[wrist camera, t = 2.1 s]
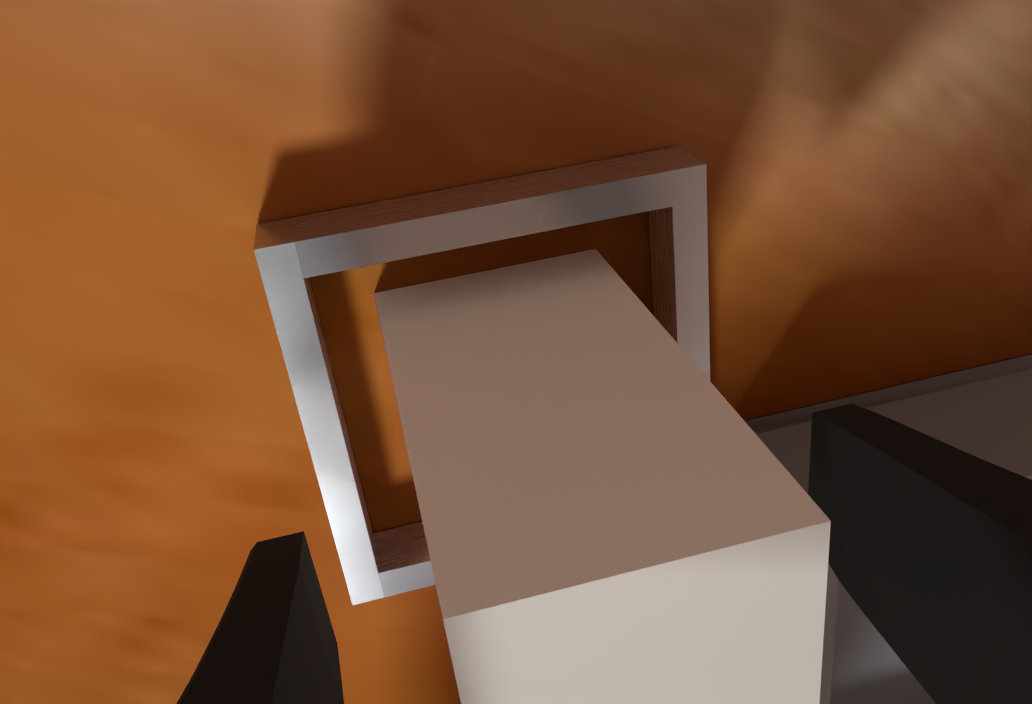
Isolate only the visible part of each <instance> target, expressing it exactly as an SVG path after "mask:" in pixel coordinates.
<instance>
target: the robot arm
mask: <svg viewBox="0 0 1032 704" xmlns="http://www.w3.org/2000/svg"><path fill="white" fill-rule="evenodd" d="M808 495H809V496H810V497H811V499H812V500H813V501H814V502H815V503H816V504H817V506H818V507H819V508H820V509H821V510H822V511H823V512H824V514H825V515H826V516H827V517H828V518H829V519H830V521H831V526H830V542H829V558H828V563H829V565H830V567H831V568H832V570H833V572H834V573H835V575H836V576H837V578H838V580H839V581H840V583H841V584H842V586H843V587H844V588H845V590H846V591H847V592H848V594H849V595H850V596H851V598H852V599H853V600H854V601H855V603H856V604H857V605H858V607H859V608H860V609H861V610H862V612H863V613H864V614H865V615H866V617H867V618H868V619H869V621H870V622H871V623H872V624H873V626H874V627H875V628H876V630H877V631H878V632H879V633H880V635H881V636H882V637H883V638H884V640H885V641H886V642H887V643H888V645H889V646H890V647H891V648H892V650H893V651H894V652H895V653H896V655H897V656H898V657H899V658H900V660H901V661H902V662H903V663H904V665H905V666H906V667H907V668H908V670H909V671H910V672H911V673H912V675H913V676H914V677H915V678H916V680H917V681H918V682H919V683H920V685H921V686H922V687H923V688H924V690H925V691H926V692H927V693H928V695H929V696H930V697H931V698H932V700H933V701H934V702H935V703H936V704H1032V480H1031V479H1029V478H1026V477H1024V476H1022V475H1019V474H1017V473H1014V472H1012V471H1009V470H1007V469H1004V468H1002V467H1000V466H997V465H995V464H992V463H990V462H988V461H985V460H983V459H981V458H978V457H976V456H974V455H971V454H969V453H967V452H965V451H962V450H960V449H958V448H955V447H953V446H951V445H949V444H946V443H944V442H942V441H940V440H937V439H935V438H933V437H931V436H928V435H926V434H924V433H922V432H919V431H917V430H915V429H913V428H910V427H908V426H906V425H904V424H901V423H899V422H897V421H894V420H892V419H890V418H887V417H885V416H883V415H880V414H878V413H876V412H873V411H871V410H868V409H865V408H863V407H860V406H857V405H855V404H852V403H851V404H847V405H843V406H839V407H834V408H830V409H826V410H821V411H817V412H813V413H812V425H811V445H810V465H809V485H808ZM177 704H344V700H343V690H342V681H341V672H340V664H339V655H338V647H337V641H336V638H335V635H334V631H333V628H332V625H331V621H330V618H329V615H328V611H327V608H326V605H325V601H324V598H323V595H322V591H321V588H320V585H319V581H318V578H317V574H316V571H315V568H314V564H313V561H312V558H311V554H310V551H309V548H308V544H307V541H306V538H305V534H304V531H303V532H299V533H295V534H291V535H286V536H282V537H278V538H274V539H269V540H265V541H261V542H257V543H256V544H255V546H254V547H253V548H252V550H251V551H250V553H249V556H248V559H247V561H246V564H245V566H244V568H243V571H242V573H241V576H240V578H239V580H238V583H237V585H236V587H235V590H234V592H233V594H232V596H231V599H230V601H229V603H228V605H227V607H226V609H225V612H224V614H223V616H222V618H221V620H220V622H219V624H218V626H217V628H216V630H215V632H214V634H213V636H212V638H211V640H210V642H209V644H208V646H207V648H206V650H205V652H204V654H203V656H202V658H201V660H200V662H199V664H198V666H197V668H196V670H195V672H194V674H193V676H192V677H191V679H190V681H189V683H188V685H187V686H186V688H185V690H184V692H183V693H182V695H181V697H180V698H179V700H178V702H177Z"/></svg>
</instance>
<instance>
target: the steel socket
mask: <svg viewBox="0 0 1032 704" xmlns="http://www.w3.org/2000/svg"><path fill="white" fill-rule="evenodd" d="M647 211H648V217H649V236H650V256H651V276H652V295H653V315H654V317H655V318H656V319H657V320H658V322H659V323H660V324H661V325H662V326H663V327H664V328H665V330H666V331H667V332H668V333H669V334H670V335H671V337H672V338H673V339H674V340H675V341H676V342H677V344H678V345H679V346H680V347H681V348H682V349H683V350H684V352H685V353H686V354H687V355H688V356H689V357H690V359H691V360H692V361H693V362H694V363H695V364H696V366H697V367H698V368H699V369H700V370H701V371H702V372H703V374H704V375H705V376H706V377H707V378H708V379H709V381H710V338H709V282H708V226H707V171H706V164H705V163H704V162H702V161H701V160H699V159H698V158H696V157H695V156H693V155H692V154H690V153H688V152H687V151H685V150H684V149H682V148H681V147H679V146H675V147H670V148H664V149H659V150H654V151H648V152H643V153H637V154H632V155H627V156H621V157H616V158H610V159H605V160H600V161H594V162H589V163H583V164H578V165H573V166H567V167H562V168H557V169H551V170H546V171H540V172H535V173H530V174H524V175H519V176H513V177H508V178H503V179H497V180H492V181H486V182H481V183H476V184H470V185H465V186H459V187H454V188H449V189H443V190H438V191H433V192H427V193H422V194H416V195H411V196H406V197H400V198H395V199H389V200H384V201H379V202H373V203H368V204H362V205H357V206H352V207H346V208H341V209H335V210H330V211H325V212H319V213H314V214H308V215H303V216H298V217H292V218H287V219H282V220H276V221H271V222H265V223H260V224H257V225H256V234H255V244H254V252H255V256H256V259H257V263H258V266H259V270H260V274H261V277H262V281H263V284H264V288H265V292H266V295H267V299H268V302H269V306H270V310H271V313H272V317H273V320H274V324H275V328H276V331H277V335H278V338H279V342H280V346H281V349H282V353H283V356H284V360H285V364H286V367H287V371H288V374H289V378H290V382H291V385H292V389H293V392H294V396H295V400H296V403H297V407H298V410H299V414H300V418H301V421H302V425H303V428H304V432H305V436H306V439H307V443H308V446H309V450H310V453H311V457H312V461H313V464H314V468H315V471H316V475H317V479H318V482H319V486H320V489H321V493H322V497H323V500H324V504H325V507H326V511H327V515H328V518H329V522H330V525H331V529H332V533H333V536H334V540H335V543H336V547H337V551H338V554H339V558H340V561H341V565H342V569H343V572H344V576H345V579H346V583H347V587H348V590H349V594H350V597H351V601H352V605H356V604H360V603H364V602H368V601H372V600H376V599H380V598H384V597H388V596H392V595H396V594H400V593H404V592H408V591H412V590H416V589H420V588H424V587H428V586H432V585H436V584H435V579H434V575H433V570H432V565H431V560H430V556H429V551H428V546H427V541H426V537H425V532H424V527H423V523H422V522H419V523H414V524H410V525H406V526H402V527H397V528H393V529H389V530H385V531H381V532H376V533H373V531H372V527H371V523H370V519H369V515H368V511H367V507H366V503H365V499H364V495H363V491H362V487H361V483H360V479H359V475H358V471H357V467H356V463H355V459H354V455H353V451H352V447H351V443H350V439H349V435H348V431H347V427H346V423H345V419H344V415H343V411H342V407H341V403H340V399H339V395H338V391H337V387H336V383H335V379H334V375H333V371H332V367H331V363H330V359H329V355H328V351H327V347H326V343H325V339H324V335H323V331H322V327H321V323H320V320H319V316H318V312H317V308H316V304H315V300H314V296H313V292H312V288H311V284H310V280H309V277H314V276H319V275H324V274H329V273H334V272H339V271H344V270H350V269H355V268H360V267H365V266H370V265H375V264H380V263H385V262H391V261H396V260H401V259H406V258H411V257H416V256H421V255H426V254H432V253H437V252H442V251H447V250H452V249H457V248H462V247H467V246H473V245H478V244H483V243H488V242H493V241H498V240H503V239H508V238H514V237H519V236H524V235H529V234H534V233H539V232H544V231H549V230H555V229H560V228H565V227H570V226H575V225H580V224H585V223H590V222H596V221H601V220H606V219H611V218H616V217H621V216H626V215H631V214H636V213H642V212H647Z"/></svg>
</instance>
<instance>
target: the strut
mask: <svg viewBox="0 0 1032 704" xmlns="http://www.w3.org/2000/svg"><path fill="white" fill-rule="evenodd" d="M374 296H375V301H376V305H377V310H378V315H379V319H380V324H381V329H382V334H383V338H384V343H385V348H386V352H387V357H388V362H389V367H390V371H391V376H392V381H393V386H394V390H395V395H396V400H397V404H398V409H399V414H400V419H401V423H402V428H403V433H404V438H405V442H406V447H407V452H408V456H409V461H410V466H411V471H412V475H413V480H414V485H415V490H416V494H417V499H418V504H419V508H420V513H421V518H422V523H423V527H424V532H425V537H426V541H427V546H428V551H429V556H430V560H431V565H432V570H433V575H434V579H435V584H436V589H437V593H438V598H439V603H440V608H441V612H442V617H443V622H444V626H445V631H446V636H447V640H448V645H449V650H450V654H451V659H452V664H453V668H454V673H455V678H456V682H457V687H458V692H459V696H460V701H461V704H819V702H820V686H821V670H822V654H823V638H824V622H825V606H826V590H827V574H828V558H829V542H830V526H831V521H830V519H829V518H828V517H827V516H826V515H825V514H824V512H823V511H822V510H821V509H820V508H819V507H818V506H817V504H816V503H815V502H814V501H813V500H812V499H811V497H810V496H809V495H808V494H807V493H806V492H805V490H804V489H803V488H802V487H801V486H800V485H799V484H798V482H797V481H796V480H795V479H794V478H793V477H792V475H791V474H790V473H789V472H788V471H787V470H786V469H785V467H784V466H783V465H782V464H781V463H780V462H779V460H778V459H777V458H776V457H775V456H774V455H773V453H772V452H771V451H770V450H769V449H768V448H767V447H766V445H765V444H764V443H763V442H762V441H761V440H760V438H759V437H758V436H757V435H756V434H755V433H754V431H753V430H752V429H751V428H750V427H749V426H748V425H747V423H746V422H745V421H744V420H743V419H742V418H741V416H740V415H739V414H738V413H737V412H736V411H735V409H734V408H733V407H732V406H731V405H730V404H729V403H728V401H727V400H726V399H725V398H724V397H723V396H722V394H721V393H720V392H719V391H718V390H717V389H716V387H715V386H714V385H713V384H712V383H711V382H710V381H709V379H708V378H707V377H706V376H705V375H704V374H703V372H702V371H701V370H700V369H699V368H698V367H697V366H696V364H695V363H694V362H693V361H692V360H691V359H690V357H689V356H688V355H687V354H686V353H685V352H684V350H683V349H682V348H681V347H680V346H679V345H678V344H677V342H676V341H675V340H674V339H673V338H672V337H671V335H670V334H669V333H668V332H667V331H666V330H665V328H664V327H663V326H662V325H661V324H660V323H659V322H658V320H657V319H656V318H655V317H654V316H653V315H652V313H651V312H650V311H649V310H648V309H647V308H646V306H645V305H644V304H643V303H642V302H641V301H640V300H639V298H638V297H637V296H636V295H635V294H634V293H633V291H632V290H631V289H630V288H629V287H628V286H627V285H626V283H625V282H624V281H623V280H622V279H621V278H620V276H619V275H618V274H617V273H616V272H615V271H614V269H613V268H612V267H611V266H610V265H609V264H608V263H607V261H606V260H605V259H604V258H603V257H602V256H601V254H600V253H599V252H598V251H597V250H596V249H592V250H587V251H582V252H577V253H572V254H567V255H562V256H557V257H552V258H547V259H542V260H537V261H532V262H527V263H522V264H517V265H512V266H507V267H502V268H497V269H492V270H487V271H482V272H477V273H472V274H467V275H462V276H457V277H452V278H447V279H442V280H437V281H432V282H427V283H422V284H417V285H412V286H407V287H402V288H397V289H392V290H387V291H382V292H377V293H374Z"/></svg>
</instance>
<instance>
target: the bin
mask: <svg viewBox="0 0 1032 704" xmlns="http://www.w3.org/2000/svg"><path fill="white" fill-rule="evenodd" d="M851 403H852V404H855V405H857V406H860V407H863V408H865V409H868V410H871V411H873V412H876V413H878V414H880V415H883V416H885V417H887V418H890V419H892V420H894V421H897V422H899V423H901V424H904V425H906V426H908V427H910V428H913V429H915V430H917V431H919V432H922V433H924V434H926V435H928V436H931V437H933V438H935V439H937V440H940V441H942V442H944V443H946V444H949V445H951V446H953V447H955V448H958V449H960V450H962V451H965V452H967V453H969V454H971V455H974V456H976V457H978V458H981V459H983V460H985V461H988V462H990V463H992V464H995V465H997V466H1000V467H1002V468H1004V469H1007V470H1009V471H1012V472H1014V473H1017V474H1019V475H1022V476H1024V477H1026V478H1029V479H1031V480H1032V354H1031V355H1027V356H1022V357H1018V358H1014V359H1010V360H1005V361H1001V362H997V363H992V364H988V365H984V366H980V367H975V368H971V369H967V370H962V371H958V372H954V373H950V374H945V375H941V376H937V377H932V378H928V379H924V380H919V381H915V382H911V383H907V384H902V385H898V386H894V387H889V388H885V389H881V390H877V391H872V392H868V393H864V394H859V395H855V396H851V397H847V398H842V399H838V400H834V401H829V402H825V403H821V404H817V405H812V406H808V407H804V408H799V409H795V410H791V411H786V412H782V413H778V414H774V415H769V416H765V417H761V418H756V419H752V420H748V421H745V422H746V423H747V425H748V426H749V427H750V428H751V429H752V430H753V431H754V433H755V434H756V435H757V436H758V437H759V438H760V440H761V441H762V442H763V443H764V444H765V445H766V447H767V448H768V449H769V450H770V451H771V452H772V453H773V455H774V456H775V457H776V458H777V459H778V460H779V462H780V463H781V464H782V465H783V466H784V467H785V469H786V470H787V471H788V472H789V473H790V474H791V475H792V477H793V478H794V479H795V480H796V481H797V482H798V484H799V485H800V486H801V487H802V488H803V489H804V490H805V492H806V493H807V494H808V485H809V465H810V445H811V425H812V413H813V412H817V411H821V410H826V409H830V408H834V407H839V406H843V405H847V404H851ZM819 704H936V703H935V702H934V701H933V700H932V698H931V697H930V696H929V695H928V693H927V692H926V691H925V690H924V688H923V687H922V686H921V685H920V683H919V682H918V681H917V680H916V678H915V677H914V676H913V675H912V673H911V672H910V671H909V670H908V668H907V667H906V666H905V665H904V663H903V662H902V661H901V660H900V658H899V657H898V656H897V655H896V653H895V652H894V651H893V650H892V648H891V647H890V646H889V645H888V643H887V642H886V641H885V640H884V638H883V637H882V636H881V635H880V633H879V632H878V631H877V630H876V628H875V627H874V626H873V624H872V623H871V622H870V621H869V619H868V618H867V617H866V615H865V614H864V613H863V612H862V610H861V609H860V608H859V607H858V605H857V604H856V603H855V601H854V600H853V599H852V598H851V596H850V595H849V594H848V592H847V591H846V590H845V588H844V587H843V586H842V584H841V583H840V581H839V580H838V578H837V576H836V575H835V573H834V572H833V570H832V568H831V567H830V565H829V563H828V574H827V590H826V606H825V622H824V638H823V654H822V670H821V686H820V702H819Z"/></svg>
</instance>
